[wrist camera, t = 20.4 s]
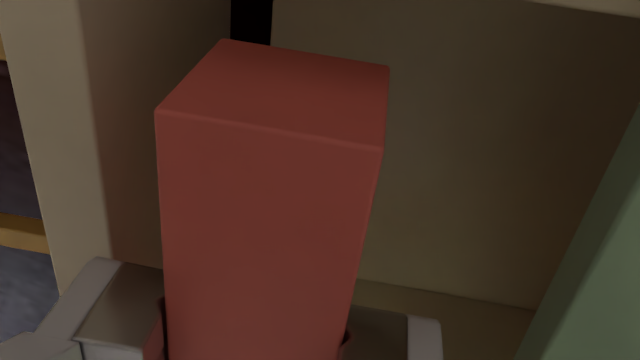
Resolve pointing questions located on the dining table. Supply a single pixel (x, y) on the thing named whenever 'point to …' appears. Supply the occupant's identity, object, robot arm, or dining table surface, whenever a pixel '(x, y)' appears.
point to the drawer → (400, 138)
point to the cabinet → (597, 274)
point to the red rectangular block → (266, 199)
